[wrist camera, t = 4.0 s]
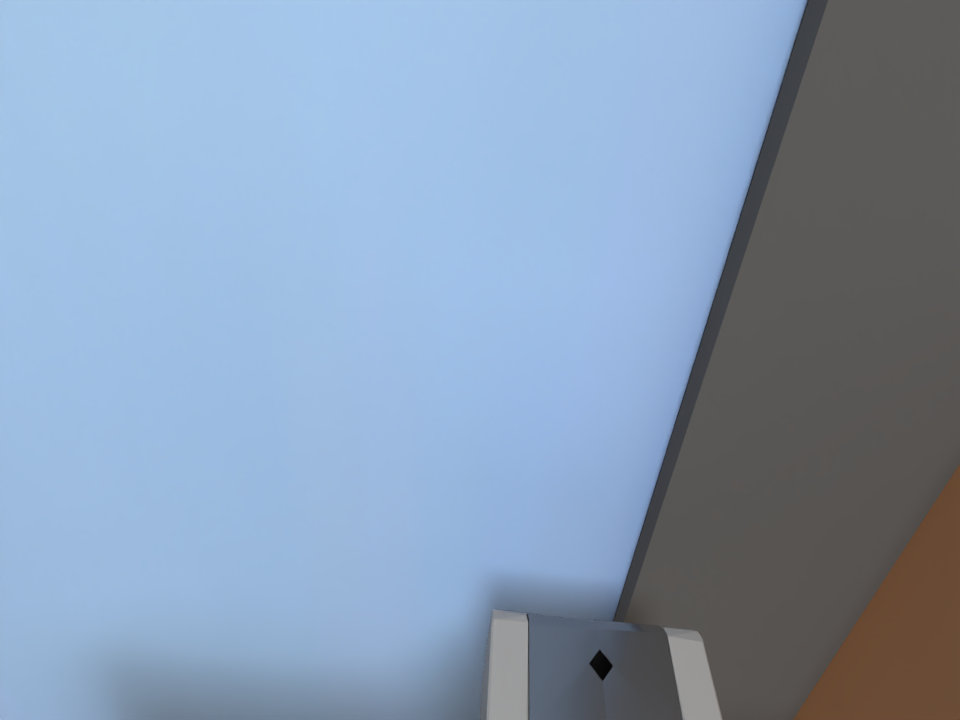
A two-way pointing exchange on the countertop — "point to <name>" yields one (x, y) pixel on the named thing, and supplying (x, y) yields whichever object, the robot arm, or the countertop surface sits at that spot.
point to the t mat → (819, 363)
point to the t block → (904, 634)
